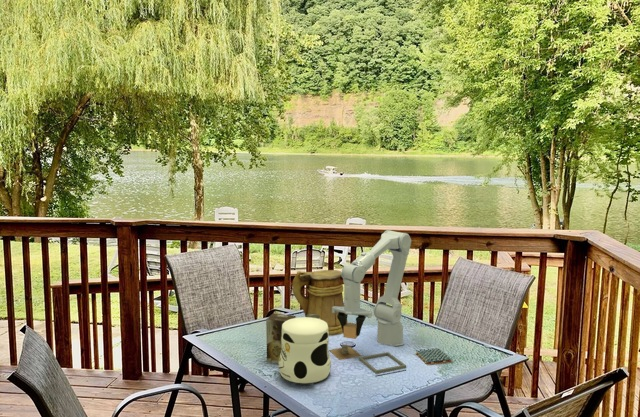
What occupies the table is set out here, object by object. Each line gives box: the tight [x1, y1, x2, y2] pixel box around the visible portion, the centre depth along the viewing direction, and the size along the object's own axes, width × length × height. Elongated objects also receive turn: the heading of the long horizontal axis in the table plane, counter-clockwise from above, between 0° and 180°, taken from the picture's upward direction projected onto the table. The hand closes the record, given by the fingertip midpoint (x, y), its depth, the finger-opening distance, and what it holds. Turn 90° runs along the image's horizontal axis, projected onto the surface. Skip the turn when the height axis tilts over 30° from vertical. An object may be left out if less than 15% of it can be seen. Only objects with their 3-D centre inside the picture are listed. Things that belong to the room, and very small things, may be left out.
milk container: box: [278, 316, 332, 386], centre depth 169 cm, size 17×17×18 cm
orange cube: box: [342, 321, 359, 340], centre depth 185 cm, size 4×4×4 cm
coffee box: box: [265, 313, 297, 365], centre depth 182 cm, size 9×6×16 cm
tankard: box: [291, 269, 349, 337], centre depth 211 cm, size 18×24×25 cm
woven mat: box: [414, 347, 453, 366], centre depth 186 cm, size 10×11×2 cm
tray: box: [358, 351, 407, 377], centre depth 179 cm, size 12×12×2 cm
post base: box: [328, 344, 362, 361], centre depth 187 cm, size 9×9×4 cm
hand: (351, 334), depth 185 cm, fingers closed on orange cube, 4 cm apart
